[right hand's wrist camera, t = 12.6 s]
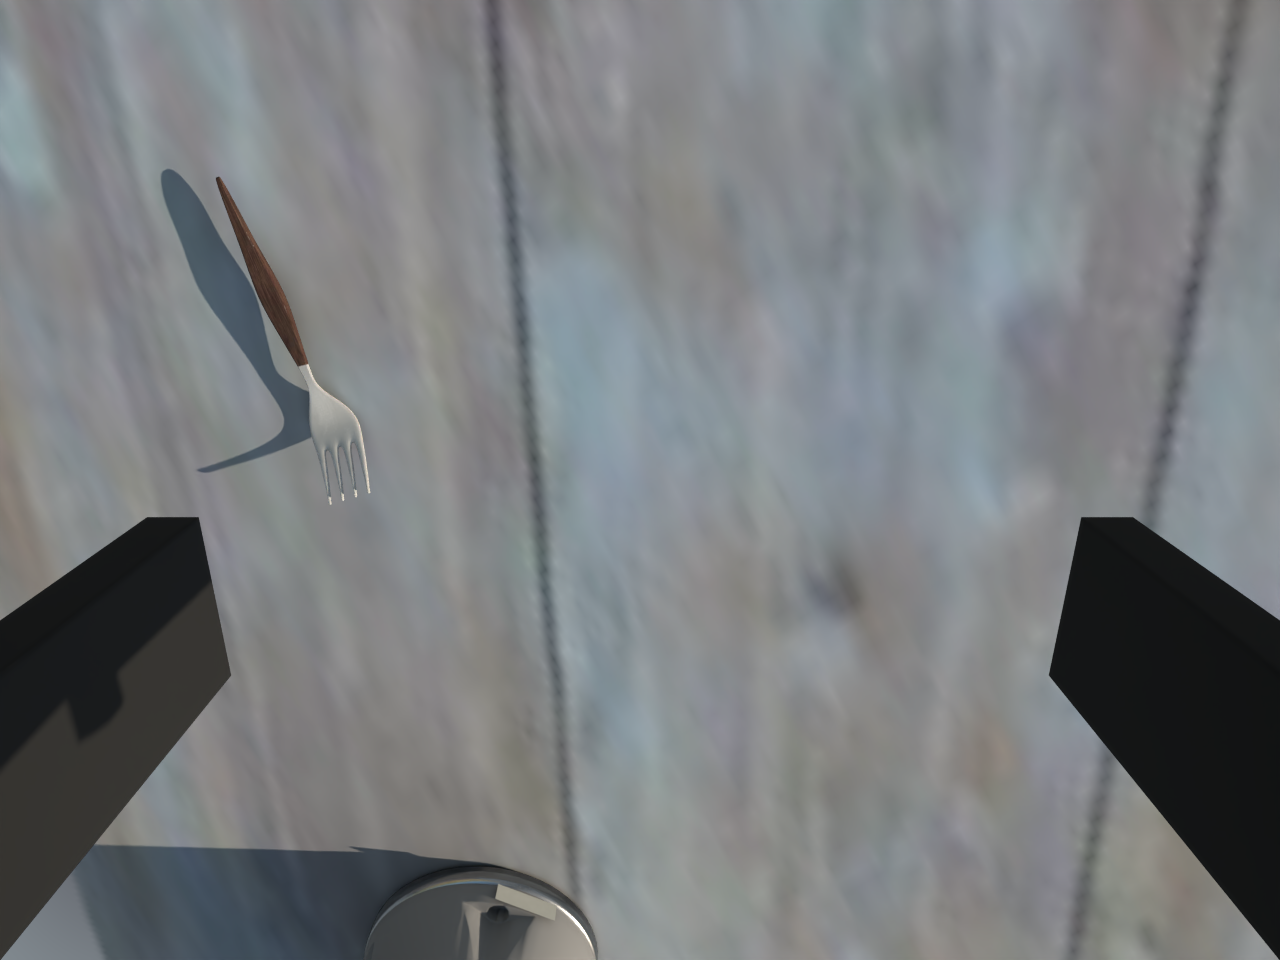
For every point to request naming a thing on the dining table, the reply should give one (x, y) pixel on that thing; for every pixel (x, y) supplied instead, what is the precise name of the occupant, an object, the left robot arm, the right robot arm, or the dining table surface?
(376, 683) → the dining table surface
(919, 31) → the dining table surface
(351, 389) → the dining table surface
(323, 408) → the fork
